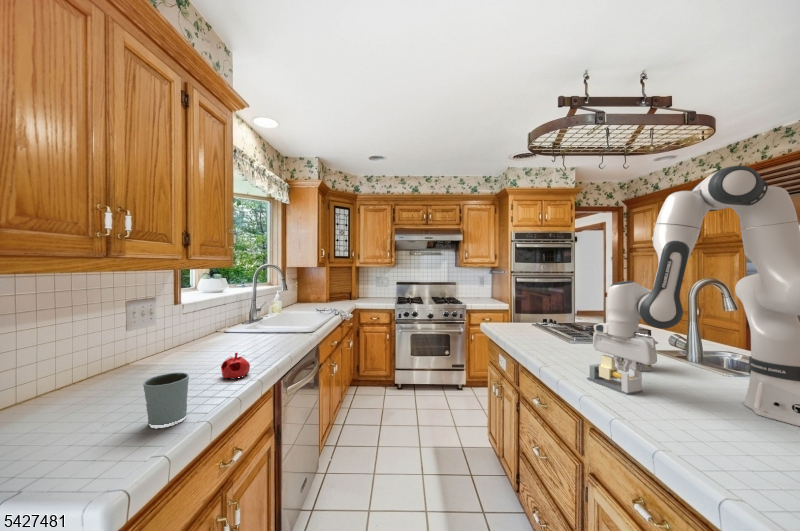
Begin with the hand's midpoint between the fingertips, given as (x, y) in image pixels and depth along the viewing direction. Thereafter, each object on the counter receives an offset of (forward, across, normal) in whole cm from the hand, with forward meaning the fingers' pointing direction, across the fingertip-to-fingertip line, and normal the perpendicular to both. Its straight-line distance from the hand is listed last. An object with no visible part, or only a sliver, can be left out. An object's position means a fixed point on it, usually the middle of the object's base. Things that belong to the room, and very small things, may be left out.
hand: (622, 370), depth 111 cm
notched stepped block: (+4, +5, 0) cm, 7 cm away
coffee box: (+6, +15, -26) cm, 30 cm away
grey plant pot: (+6, +23, +138) cm, 140 cm away
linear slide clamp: (+6, +3, 0) cm, 7 cm away
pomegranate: (+6, +57, +127) cm, 139 cm away
